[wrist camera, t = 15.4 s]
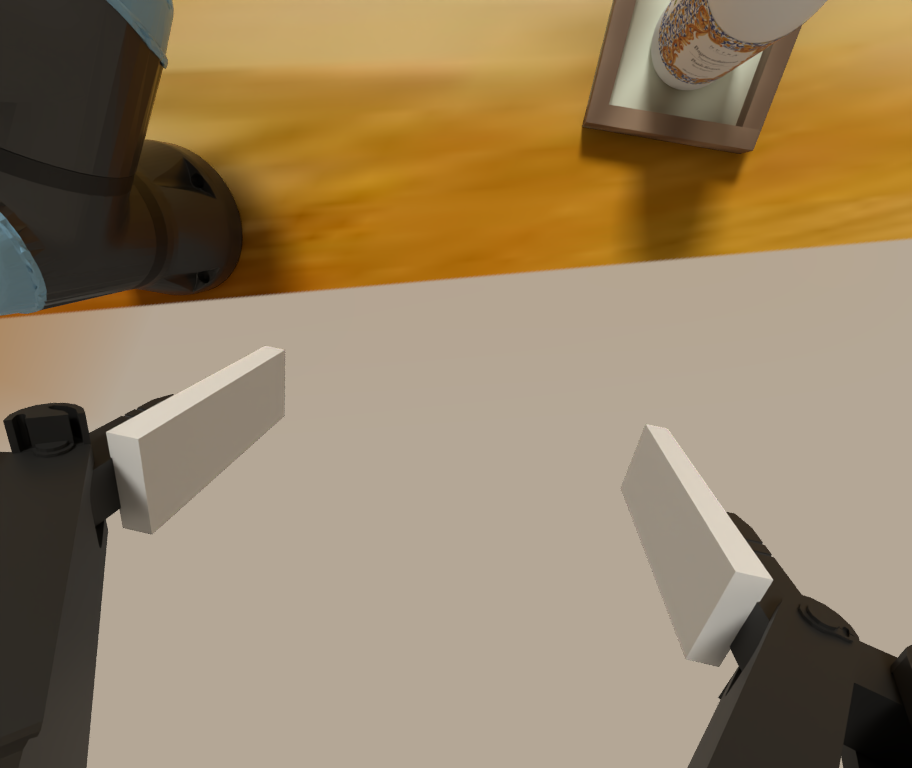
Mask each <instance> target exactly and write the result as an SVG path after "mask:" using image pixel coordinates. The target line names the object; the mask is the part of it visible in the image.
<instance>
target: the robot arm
mask: <svg viewBox="0 0 912 768" xmlns="http://www.w3.org/2000/svg"><path fill="white" fill-rule="evenodd" d="M172 20H173V2H172V0H0V315H7V314H13V313H24V314H27V313H31V312H36V311H39V310H43V309H47V308H52V307H56V306H60V305H65V304H69V303H73V302H78V301H82V300H86V299H91V298H95V297H99V296H104V295H108V294H113V293H117V292H121V291H125V290H130V289H135V288H136V289H142V290H147V291H153V292H159V293H165V294H171V295H189V294H194V293H198V292H202V291H206V290H209V289H212V288H214V287H216V286H218V285H220V284H221V283H222V282H224V281H225V280H226V279H227V278H228V277H229V276H230V274H231V273H232V271H233V270H234V268H235V266H236V264H237V262H238V259H239V256H240V252H241V246H242V227H241V221H240V216H239V212H238V209H237V206H236V203H235V201H234V199H233V197H232V194H231V193H230V191H229V189H228V187H227V186H226V184H225V183H224V181H223V180H222V178H221V177H220V176H219V175H218V173H217V172H216V171H215V170H214V169H213V168H212V167H211V166H210V165H209V164H208V163H207V162H206V161H205V160H203V159H202V158H201V157H199V156H198V155H196V154H195V153H193V152H191V151H190V150H187V149H185V148H183V147H181V146H178V145H175V144H170V143H165V142H160V141H154V140H145V136H146V132H147V128H148V124H149V120H150V116H151V112H152V109H153V105H154V101H155V97H156V93H157V89H158V85H159V81H160V78H161V74H162V70H163V68H165V69H166V67H167V64H168V60H167V57H166V50H167V45H168V40H169V35H170V30H171V25H172ZM284 401H285V350H283V349H279V348H274V347H269V346H263V347H262V348H260V349H258V350H256V351H254V352H252V353H251V354H249V355H247V356H245V357H244V358H241V359H239V360H238V361H236V362H234V363H232V364H230V365H229V366H227V367H225V368H223V369H221V370H219V371H217V372H216V373H214V374H212V375H210V376H208V377H206V378H205V379H203V380H201V381H199V382H197V383H195V384H193V385H192V386H190V387H188V388H186V389H184V390H182V391H181V392H179V393H177V394H175V395H174V394H172V395H168V396H164V397H161V398H157V399H154V400H151V401H150V402H147V403H146V404H144V405H142V406H140V407H138V408H137V410H135V409H134V410H132V411H130V412H128V413H127V414H125V416H121V417H119V418H117V419H115V420H113V421H111V422H109V423H107V424H106V425H104V426H102V427H100V428H98V429H96V430H94V431H92V432H90V433H89V431H88V426H87V421H86V415H85V412H84V409H83V408H82V407H80V406H78V405H75V404H69V403H48V404H41V405H35V406H32V407H28V408H25V409H21V410H18V411H16V412H14V413H12V414H10V415H9V416H8V417H7V418H5V419H4V421H3V422H4V425H5V429H6V432H7V436H8V439H9V443H10V447H11V450H12V452H0V768H86V767H87V756H88V744H89V734H90V722H91V711H92V700H93V689H94V678H95V667H96V656H97V645H98V634H99V623H100V611H101V601H102V589H103V579H104V568H105V567H104V566H105V556H106V545H107V535H108V528H107V523H106V518H108V517H109V516H110V515H112V514H113V513H114V512H116V511H117V510H118V509H120V514H121V519H122V525H123V528H127V529H130V530H135V531H139V532H144V533H148V534H153V533H154V532H155V531H156V530H157V529H159V528H160V527H161V526H162V525H163V524H164V523H165V522H166V521H168V520H169V519H170V518H171V517H172V516H173V515H174V514H175V513H177V512H178V511H179V510H180V509H181V508H182V507H183V506H184V505H185V504H187V503H188V502H189V501H190V500H191V499H192V498H193V497H194V496H195V495H196V494H198V493H199V492H200V491H201V490H202V489H203V488H204V487H206V486H207V485H208V484H209V483H210V482H211V481H212V480H213V479H214V478H216V476H218V475H219V474H220V473H221V472H222V471H223V470H225V469H226V468H227V467H228V466H229V465H230V464H231V463H232V462H234V461H235V460H236V459H237V458H238V457H239V456H240V455H241V454H243V453H244V452H245V451H246V450H247V449H248V448H249V447H250V446H251V445H253V444H254V443H255V442H256V441H257V440H258V439H259V438H260V437H261V436H262V435H264V434H265V433H266V432H267V431H268V430H269V429H270V428H272V427H273V426H274V425H275V424H276V423H277V422H278V421H279V420H280V419H282V418H283V417H284V405H285V403H284ZM621 491H622V493H623V496H624V498H625V501H626V503H627V506H628V509H629V511H630V514H631V517H632V519H633V522H634V525H635V527H636V530H637V533H638V535H639V538H640V540H641V543H642V546H643V548H644V551H645V554H646V556H647V559H648V561H649V564H650V567H651V569H652V572H653V575H654V577H655V580H656V582H657V585H658V588H659V590H660V593H661V596H662V598H663V601H664V604H665V606H666V609H667V611H668V614H669V617H670V619H671V622H672V625H673V627H674V630H675V633H676V635H677V637H678V640H679V643H680V646H681V648H682V651H683V654H684V656H685V659H687V660H692V661H696V662H701V663H704V664H709V665H713V666H717V667H719V666H720V665H721V663H722V661H723V660H724V658H725V657H726V655H727V653H728V652H729V650H730V649H731V651H732V653H733V655H734V657H735V659H736V661H737V663H738V665H739V667H738V668H737V670H736V671H735V673H734V674H733V676H732V678H731V679H730V680H729V682H728V684H727V685H726V687H725V688H724V690H723V691H722V693H721V694H720V696H719V698H720V699H721V700H720V702H719V705H718V706H717V708H716V710H715V713H714V715H713V717H712V719H711V721H710V723H709V725H708V727H707V729H706V731H705V733H704V735H703V737H702V739H701V741H700V743H699V745H698V747H697V749H696V751H695V753H694V755H693V757H692V760H691V762H690V764H689V766H688V768H839V765H840V759H841V757H842V763H843V768H912V645H910V646H909V647H907V648H906V649H905V650H904V651H903V652H902V653H901V654H900V656H899V657H898V658H897V657H895V656H892V655H890V654H888V653H885V652H883V651H881V650H878V649H876V648H874V647H872V646H870V645H867V644H865V643H863V642H860V641H859V637H858V635H857V634H856V633H855V631H854V630H853V628H852V627H851V625H850V624H848V623H847V622H846V621H845V620H844V619H843V618H842V617H841V616H840V615H839V614H837V613H836V612H835V611H833V610H832V609H830V608H829V607H827V606H826V605H824V604H822V603H820V602H818V601H816V600H814V599H812V598H810V597H806V596H803V595H801V593H800V592H799V591H798V589H797V588H796V586H795V585H794V584H793V582H792V581H791V580H790V578H789V577H788V576H787V574H786V573H785V572H784V571H783V569H782V568H781V566H780V565H779V564H778V562H777V561H776V560H775V558H774V557H771V553H770V552H769V550H768V549H767V548H766V546H765V545H762V541H761V540H760V538H759V537H758V535H757V534H756V533H755V532H754V530H753V529H752V528H751V527H750V526H749V525H748V524H746V523H745V522H744V521H743V520H742V519H741V518H739V517H738V516H737V515H736V514H734V513H729V512H726V511H725V510H724V509H723V507H722V506H721V504H720V503H719V501H718V500H717V499H716V497H715V496H714V494H713V493H712V492H711V490H710V489H709V487H708V486H707V484H706V483H705V481H704V480H703V478H702V477H701V476H700V474H699V473H698V472H697V470H696V469H695V467H694V466H693V464H692V463H691V461H690V460H689V459H688V457H687V456H686V454H685V453H684V451H683V450H682V449H681V447H680V446H679V444H678V443H677V441H676V440H675V438H674V437H673V436H672V434H671V433H670V431H669V430H668V429H667V428H663V427H657V426H653V425H647V424H645V427H644V429H643V432H642V434H641V437H640V440H639V442H638V445H637V447H636V450H635V452H634V455H633V458H632V460H631V463H630V465H629V468H628V471H627V473H626V476H625V478H624V481H623V483H622V486H621Z"/></svg>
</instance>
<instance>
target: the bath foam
mask: <svg viewBox="0 0 912 768" xmlns="http://www.w3.org/2000/svg"><path fill="white" fill-rule="evenodd" d="M826 1H827V0H671V2H670V3H669V4H668V6H667V7H666V9H665V10H664V12H663V13H662V15H661V16H660V18H659V20H658V22H657V25H656V27H655V30H654V34H653V38H652V45H651V56H652V62H653V65H654V68H655V70H656V72H657V74H658V76H659V77H660V78H661V80H662V81H663V82H665V83H666V84H667V85H669V86H670V87H672V88H675V89H678V90H696V89H699V88H702V87H705V86H707V85H709V84H711V83H713V82H714V81H716V80H718V79H719V78H721V77H723V76H724V75H726V74H727V73H729V72H730V71H732V70H734V69H735V68H737V67H738V66H740V65H741V64H743V63H744V62H746V61H748V60H749V59H751V58H752V57H754V56H755V55H757V54H758V53H760V52H762V51H763V50H765V49H766V48H768V47H769V46H771V45H772V44H774V43H776V42H777V41H779V40H780V39H782V38H783V37H785V36H786V35H788V34H790V33H791V32H793V31H794V30H796V29H797V28H798V27H800V26H801V25H802V24H804V23H805V22H806V21H807V20H808V19H809V18H810V17H811V16H812V15H814V14H815V13H816V12H817V11H818V10H819V9H820V8H821V7H822V6H823V5H824V3H825V2H826Z"/></svg>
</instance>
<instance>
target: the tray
mask: <svg viewBox="0 0 912 768" xmlns="http://www.w3.org/2000/svg"><path fill="white" fill-rule="evenodd" d="M670 2H671V0H613V3H612V7H611V11H610V15H609V19H608V23H607V27H606V31H605V35H604V40H603V44H602V48H601V52H600V56H599V60H598V64H597V68H596V72H595V76H594V80H593V84H592V88H591V92H590V96H589V101H588V105H587V109H586V113H585V117H584V121H583V125H582V127H586V128H592V129H598V130H604V131H609V132H615V133H621V134H627V135H633V136H639V137H644V138H650V139H656V140H662V141H668V142H674V143H680V144H685V145H691V146H697V147H703V148H709V149H715V150H720V151H726V152H732V153H738V154H741V153H745V152H749V151H753V149H754V147H755V144H756V141H757V139H758V136H759V134H760V131H761V129H762V126H763V124H764V121H765V118H766V116H767V113H768V111H769V108H770V106H771V103H772V100H773V98H774V95H775V93H776V90H777V88H778V85H779V82H780V80H781V77H782V75H783V72H784V70H785V67H786V65H787V62H788V59H789V57H790V54H791V52H792V49H793V47H794V44H795V41H796V39H797V36H798V34H799V31H800V29H801V26H802V25H801V26H800V27H798V28H797V29H796V30H794V31H793V32H791V33H790V34H788V35H786V36H785V37H783V38H782V39H780V40H779V41H777V42H776V43H774V44H772V45H771V46H769V47H768V48H766V49H765V50H763V51H762V52H760V53H758V54H757V55H755V56H754V57H752V58H751V59H749V60H748V61H746V62H744V63H743V64H741V65H740V66H738V67H737V68H735V69H734V70H732V71H730V72H729V73H727V74H726V75H724V76H723V77H721V78H719V79H718V80H716V81H714V82H713V83H711V84H709V85H707V86H705V87H702V88H699V89H696V90H678V89H675V88H672V87H670V86H669V85H667V84H666V83H665V82H663V81H662V80H661V78H660V77H659V76H658V74H657V72H656V70H655V68H654V65H653V62H652V56H651V45H652V38H653V34H654V30H655V27H656V25H657V22H658V20H659V18H660V16H661V15H662V13H663V12H664V10H665V9H666V7H667V6H668V4H669V3H670Z"/></svg>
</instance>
